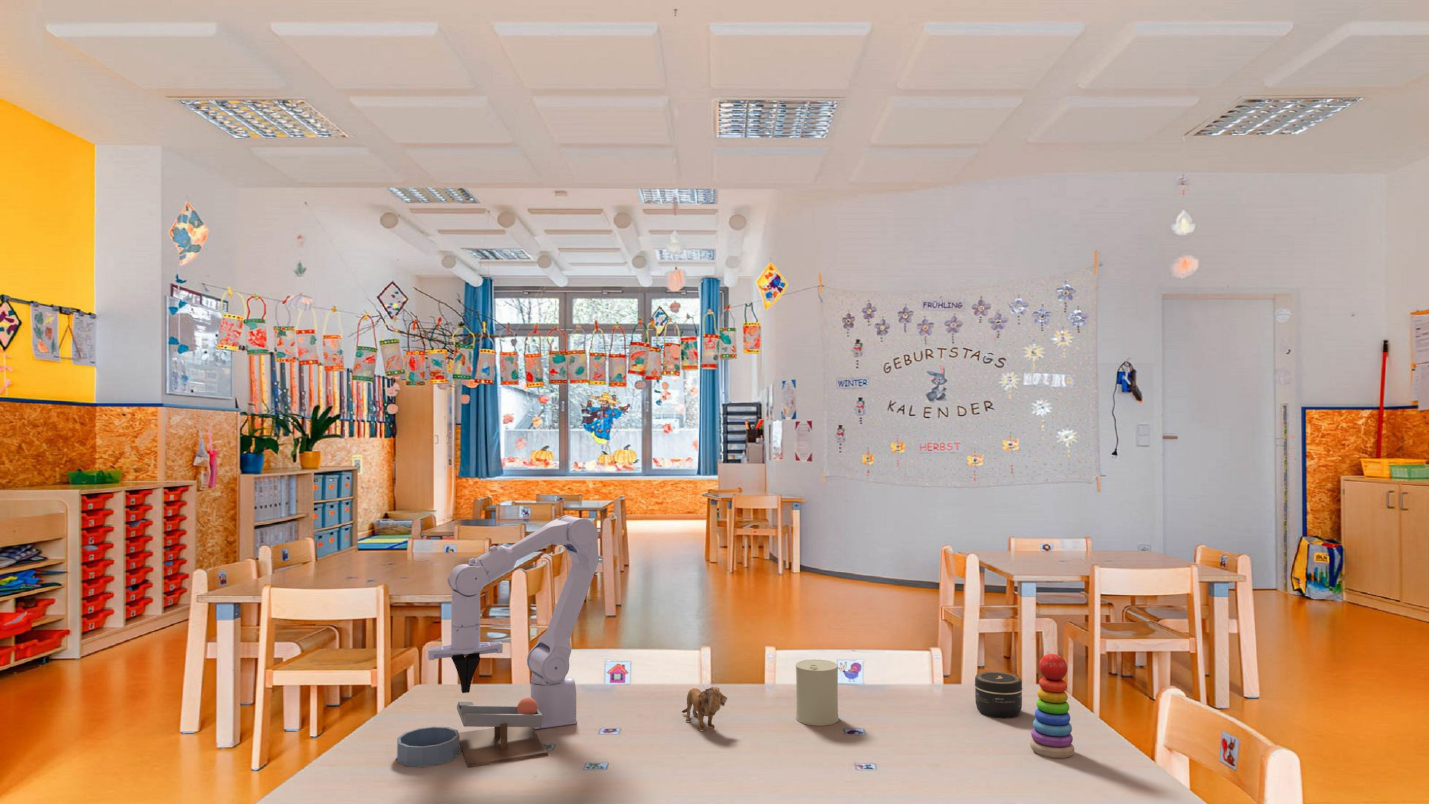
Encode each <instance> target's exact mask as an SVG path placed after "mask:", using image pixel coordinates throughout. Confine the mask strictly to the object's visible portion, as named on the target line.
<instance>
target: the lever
mask: <svg viewBox="0 0 1429 804" xmlns="http://www.w3.org/2000/svg"><path fill="white" fill-rule="evenodd" d="M517 706H518V705H487V704H486V705H483V704H480V705H478V704H477V705H475V704H474V702H473V701H458V702H457V705H456V710H457V713H458V716H459V718H460V720H461V722H462V725H463V727H464V728H465V727H466V728H469V727H471V728H473V727H474V728H475V727H477V728H478V727H479V728H481V727H485V728H488V727H489V728H490V727H491V728H494V727H501V724H505V723H507V727H541V724H542V717H543V715H542V714H541V712H540V711H539V709H538V708H537V712H536V714H518V711H517Z"/></svg>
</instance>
